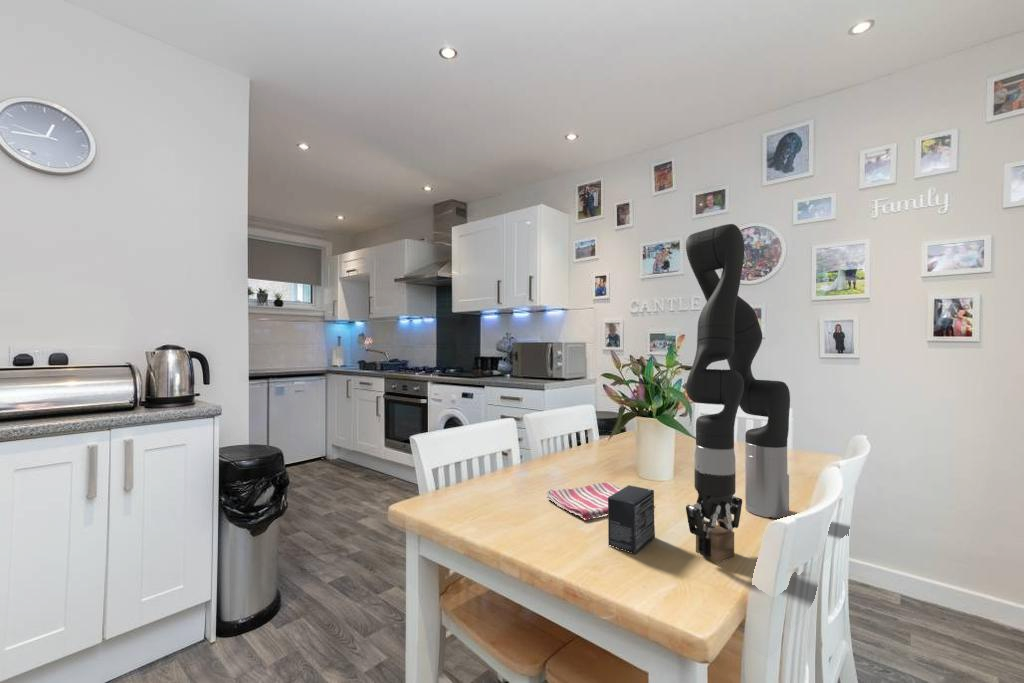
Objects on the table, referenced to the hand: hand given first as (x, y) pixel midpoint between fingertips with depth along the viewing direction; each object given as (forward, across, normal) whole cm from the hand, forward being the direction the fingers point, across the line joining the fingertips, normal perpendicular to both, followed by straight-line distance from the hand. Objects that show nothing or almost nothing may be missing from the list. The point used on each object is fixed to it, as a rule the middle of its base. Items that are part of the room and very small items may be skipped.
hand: (714, 552), depth 89 cm
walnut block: (0, 0, 0) cm, 0 cm away
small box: (+1, +11, -12) cm, 16 cm away
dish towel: (+1, +3, -34) cm, 34 cm away
